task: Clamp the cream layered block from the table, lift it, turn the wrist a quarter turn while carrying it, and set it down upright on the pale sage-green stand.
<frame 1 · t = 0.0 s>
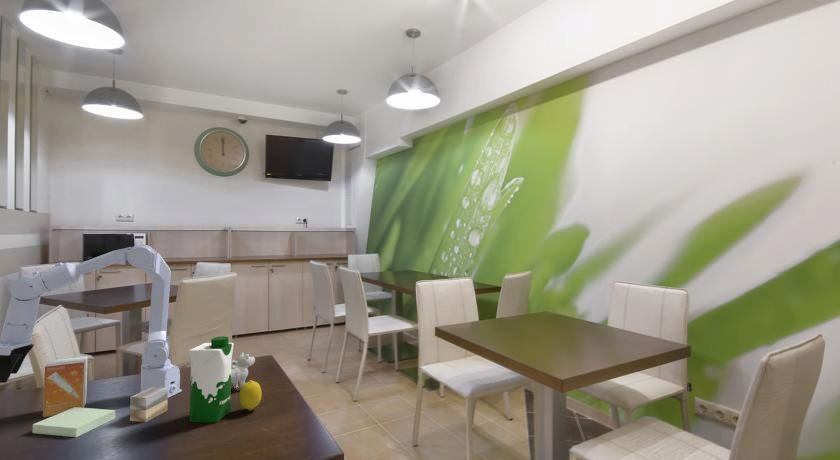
hand: (6, 377, 102), 11 cm above the table, tool pointing down, fingers open, 7 cm apart
dog figurine: (233, 391, 122), on the table
stand: (75, 425, 99), on the table
small box: (65, 411, 108), on the table
lemon: (250, 411, 108), on the table
cream layered block: (149, 415, 105), on the table
milk carton: (210, 417, 105), on the table
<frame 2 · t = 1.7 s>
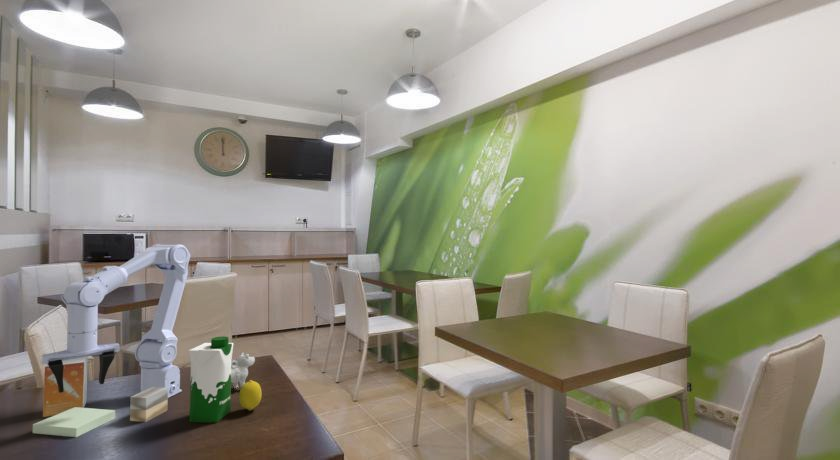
hand: (81, 387, 100), 9 cm above the table, tool pointing down, fingers open, 7 cm apart
nothing on the table moved.
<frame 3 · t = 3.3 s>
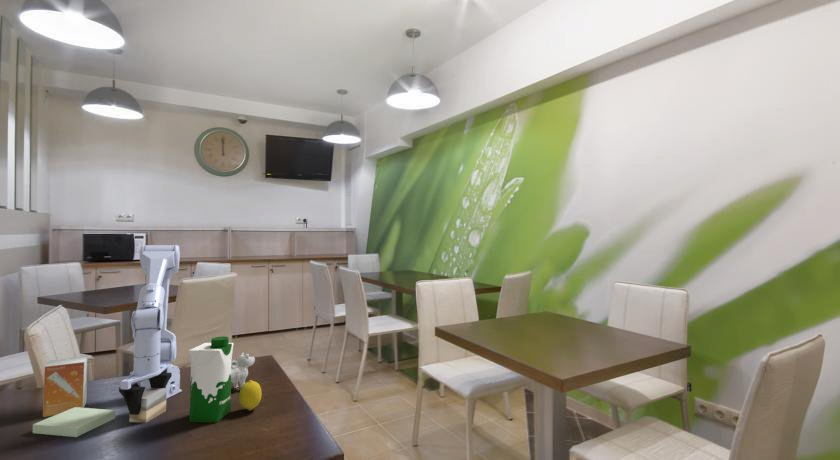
hand: (146, 407, 105), 2 cm above the table, tool pointing down, fingers open, 7 cm apart
cream layered block: (148, 416, 105), on the table, touching gripper
everything else where it was.
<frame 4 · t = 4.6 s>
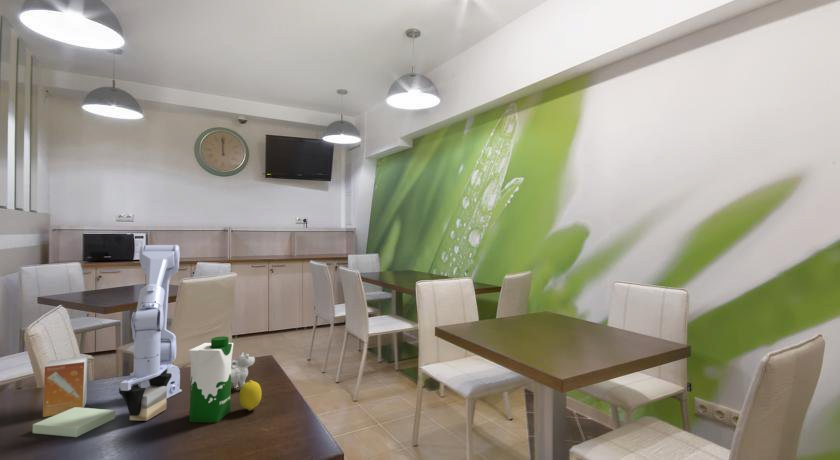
hand: (146, 408, 105), 2 cm above the table, tool pointing down, fingers closed on cream layered block, 7 cm apart
cream layered block: (148, 414, 105), on the table, touching gripper
everything else where it was.
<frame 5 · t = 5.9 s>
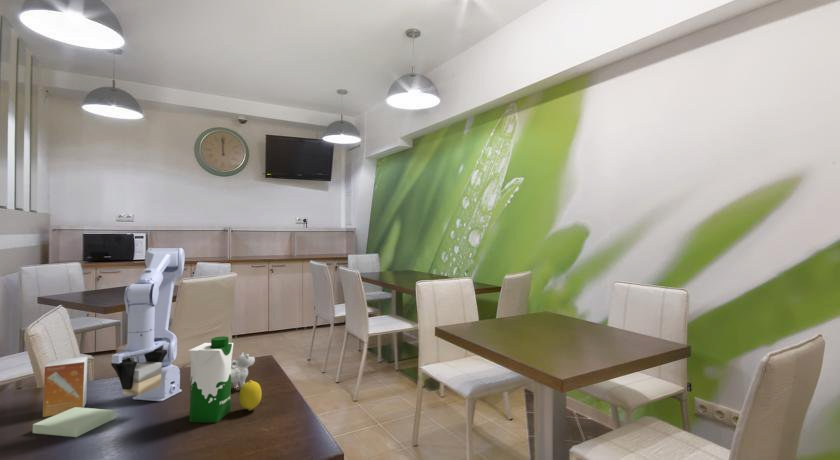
hand: (140, 383, 105), 8 cm above the table, tool pointing down, fingers closed on cream layered block, 7 cm apart
cream layered block: (142, 389, 104), point 7 cm above the table, touching gripper
everything else where it was.
when the fingers open (4 cm above the table, at t = 8.3 s): cream layered block stays where it is, resting on stand.
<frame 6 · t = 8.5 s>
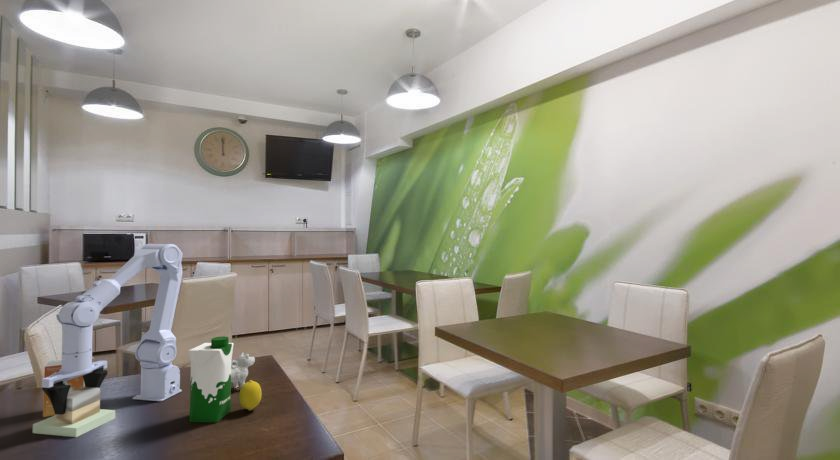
hand: (76, 407, 99), 4 cm above the table, tool pointing down, fingers open, 7 cm apart
cream layered block: (78, 417, 99), point 2 cm above the table, touching gripper, stand
everything else where it was.
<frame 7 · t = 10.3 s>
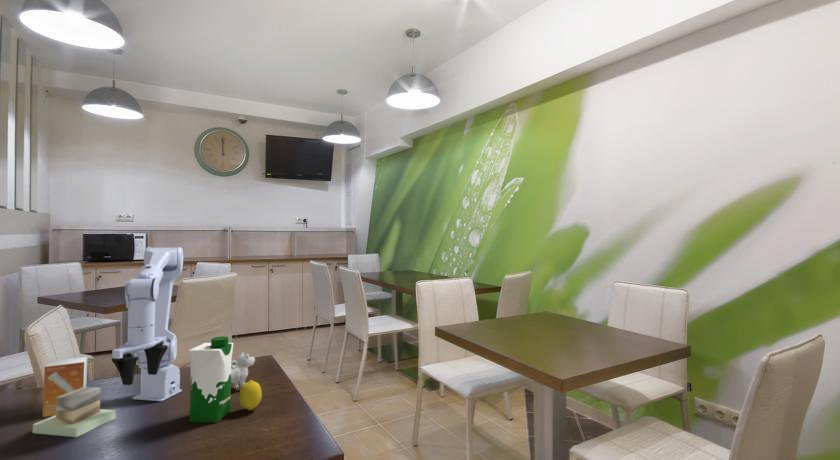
hand: (140, 379, 104), 10 cm above the table, tool pointing down, fingers open, 7 cm apart
cream layered block: (78, 417, 99), point 2 cm above the table, touching stand
everything else where it was.
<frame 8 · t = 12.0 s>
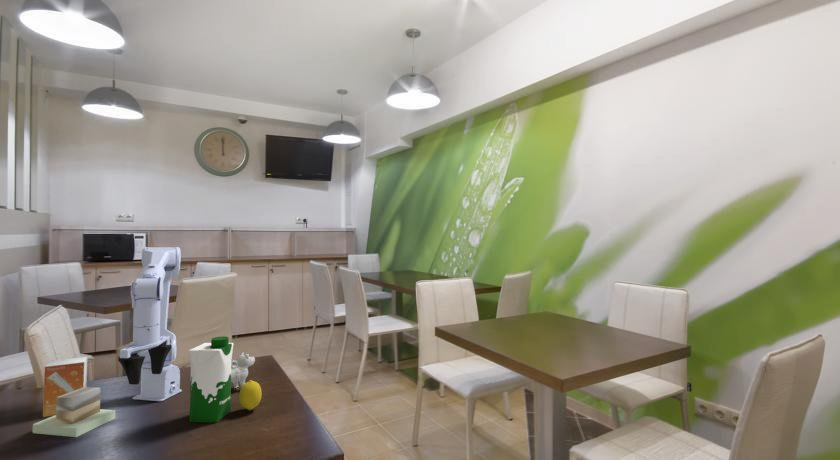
hand: (145, 378, 104), 10 cm above the table, tool pointing down, fingers open, 7 cm apart
nothing on the table moved.
at the end: cream layered block 0.7 cm off-centre on the stand, point 2.0 cm above the stand's base; cream layered block tilted 0°; cream layered block touching stand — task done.
